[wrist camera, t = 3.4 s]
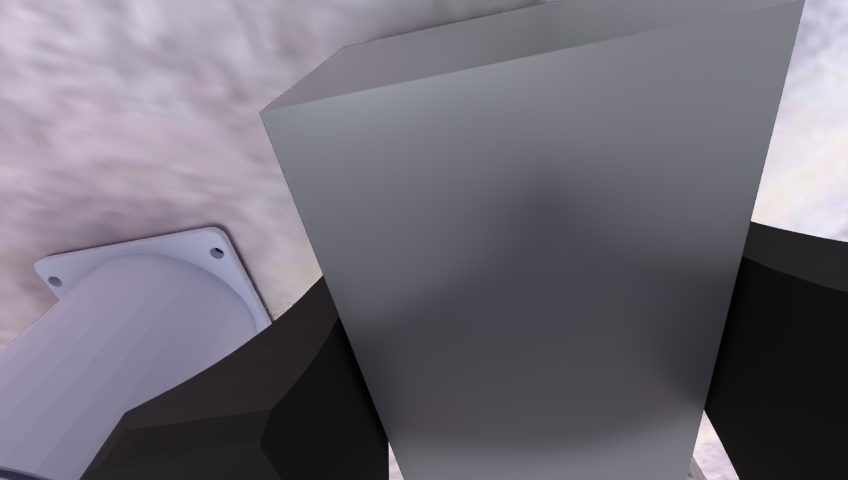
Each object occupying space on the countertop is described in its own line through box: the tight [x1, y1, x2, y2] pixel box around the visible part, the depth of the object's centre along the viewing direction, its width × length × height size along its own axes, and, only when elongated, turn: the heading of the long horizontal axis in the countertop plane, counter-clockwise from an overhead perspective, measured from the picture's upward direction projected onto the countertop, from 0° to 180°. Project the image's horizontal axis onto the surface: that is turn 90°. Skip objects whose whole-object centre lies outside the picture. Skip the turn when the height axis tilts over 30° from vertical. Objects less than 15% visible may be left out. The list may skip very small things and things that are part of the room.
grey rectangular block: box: [259, 0, 805, 480], centre depth 10 cm, size 11×6×7 cm, turn 11°
